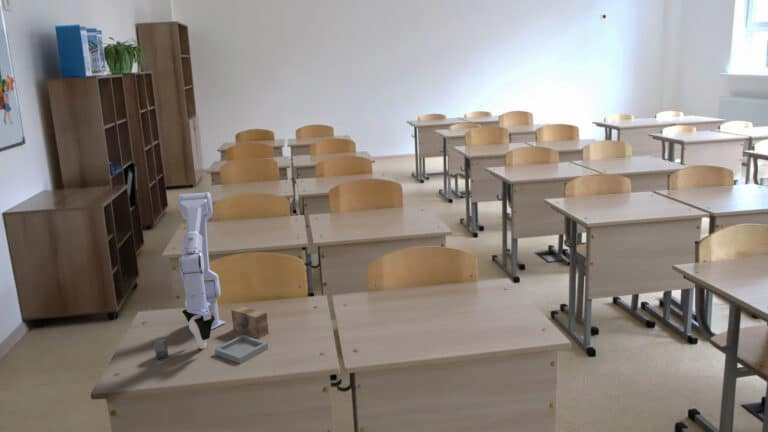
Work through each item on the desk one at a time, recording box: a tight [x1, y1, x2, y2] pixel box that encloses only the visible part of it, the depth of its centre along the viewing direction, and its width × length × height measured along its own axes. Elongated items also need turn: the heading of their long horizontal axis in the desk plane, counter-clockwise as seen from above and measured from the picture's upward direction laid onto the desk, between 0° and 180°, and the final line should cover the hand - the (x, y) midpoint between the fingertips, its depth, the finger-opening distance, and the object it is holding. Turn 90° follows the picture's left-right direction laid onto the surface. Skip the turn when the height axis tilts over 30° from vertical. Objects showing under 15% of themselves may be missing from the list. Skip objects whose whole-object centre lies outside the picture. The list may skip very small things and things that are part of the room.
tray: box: [214, 334, 269, 365], centre depth 189 cm, size 11×11×2 cm
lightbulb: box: [188, 315, 208, 350], centre depth 190 cm, size 6×6×11 cm
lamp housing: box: [230, 305, 269, 339], centre depth 201 cm, size 12×5×7 cm, turn 54°
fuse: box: [153, 338, 170, 361], centre depth 187 cm, size 4×4×5 cm
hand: (200, 334), depth 191 cm, fingers open, 7 cm apart
